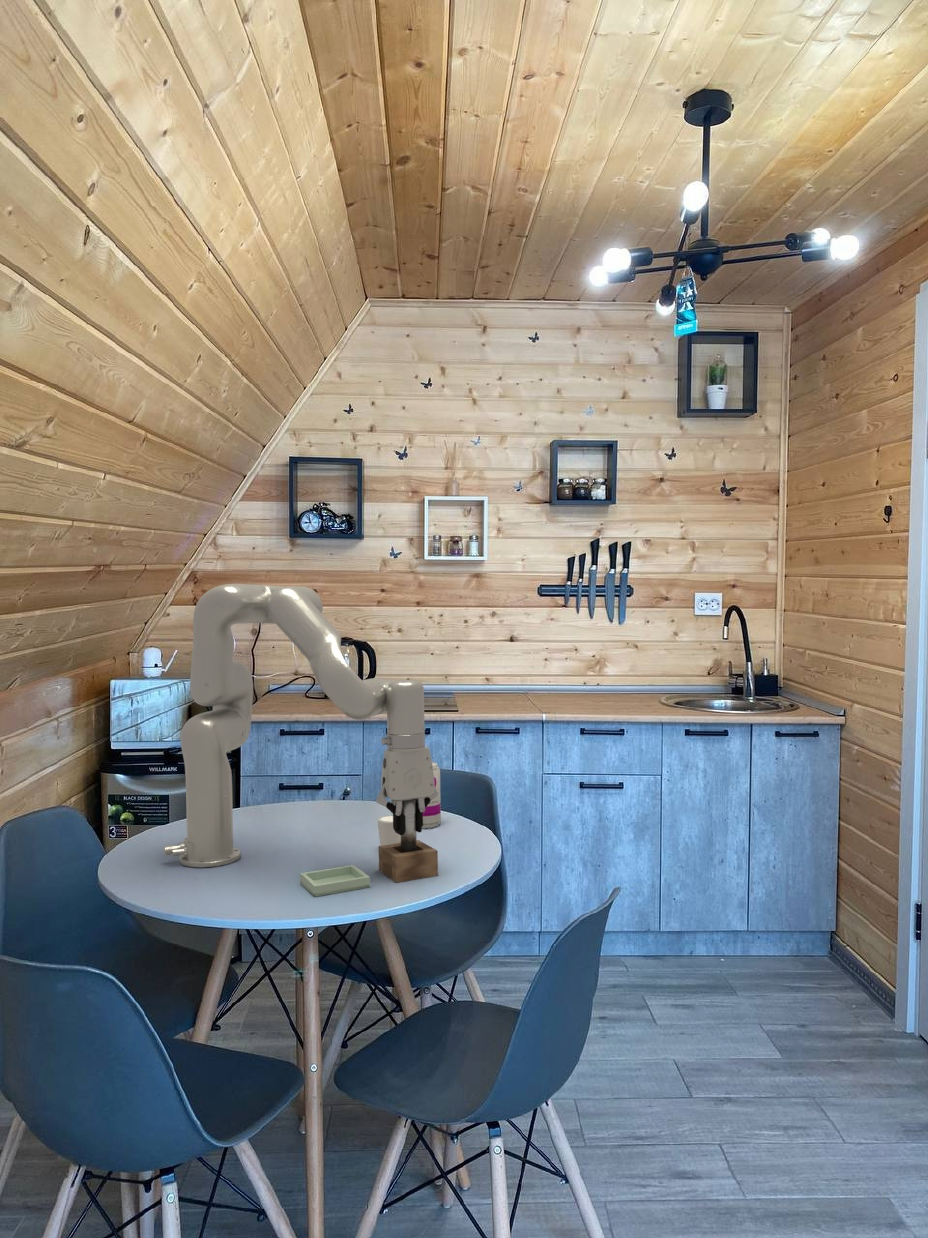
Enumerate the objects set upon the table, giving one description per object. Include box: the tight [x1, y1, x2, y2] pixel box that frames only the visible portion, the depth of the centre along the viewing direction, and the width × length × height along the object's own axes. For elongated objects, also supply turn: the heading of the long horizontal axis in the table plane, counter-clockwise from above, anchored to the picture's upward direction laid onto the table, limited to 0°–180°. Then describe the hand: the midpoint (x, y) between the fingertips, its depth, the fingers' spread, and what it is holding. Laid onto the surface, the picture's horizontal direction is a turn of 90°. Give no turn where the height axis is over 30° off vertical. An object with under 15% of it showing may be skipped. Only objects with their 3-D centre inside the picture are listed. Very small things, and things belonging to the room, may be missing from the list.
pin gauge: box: [400, 799, 417, 853], centre depth 177 cm, size 3×3×12 cm
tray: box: [299, 864, 371, 898], centre depth 170 cm, size 11×9×2 cm
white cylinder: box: [376, 814, 401, 846], centre depth 194 cm, size 7×7×7 cm
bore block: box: [378, 839, 439, 884], centre depth 177 cm, size 9×9×5 cm
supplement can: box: [422, 761, 442, 829], centre depth 215 cm, size 8×8×15 cm
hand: (408, 831), depth 177 cm, fingers closed on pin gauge, 3 cm apart
